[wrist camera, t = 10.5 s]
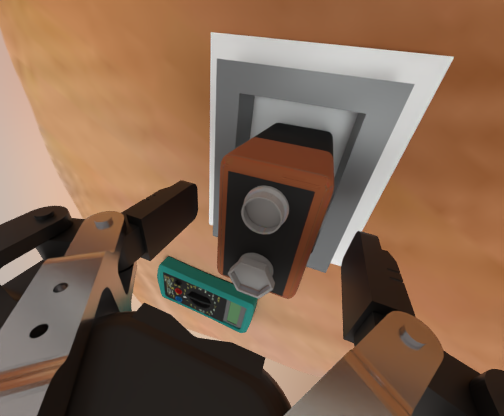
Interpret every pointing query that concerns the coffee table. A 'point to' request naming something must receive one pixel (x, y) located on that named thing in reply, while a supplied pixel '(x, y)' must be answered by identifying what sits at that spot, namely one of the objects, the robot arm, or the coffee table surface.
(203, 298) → the digital multimeter
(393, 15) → the coffee table surface
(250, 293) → the battery
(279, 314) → the coffee table surface
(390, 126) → the charging cradle
